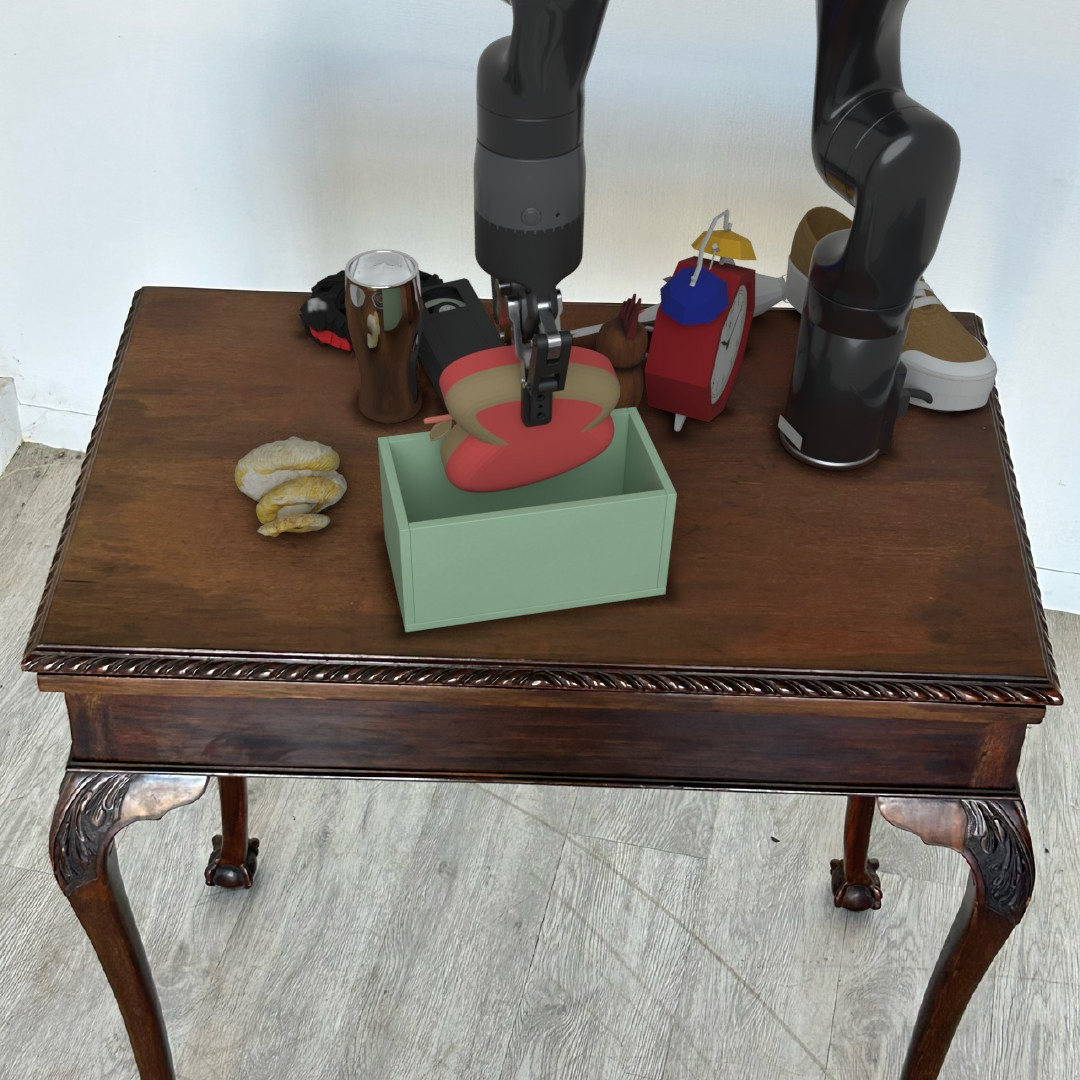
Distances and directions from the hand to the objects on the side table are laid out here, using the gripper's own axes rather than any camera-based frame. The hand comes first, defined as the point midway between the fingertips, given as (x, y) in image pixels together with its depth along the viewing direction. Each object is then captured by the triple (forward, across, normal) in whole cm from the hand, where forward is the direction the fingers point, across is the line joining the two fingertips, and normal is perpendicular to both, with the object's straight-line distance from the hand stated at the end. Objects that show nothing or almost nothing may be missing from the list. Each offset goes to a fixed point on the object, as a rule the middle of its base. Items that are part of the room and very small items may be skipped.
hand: (527, 402), depth 104 cm
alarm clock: (+17, +19, -21) cm, 33 cm away
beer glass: (+17, +25, +6) cm, 31 cm away
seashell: (+17, +13, +18) cm, 28 cm away
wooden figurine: (+17, +16, -12) cm, 26 cm away
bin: (+17, 0, 0) cm, 17 cm away
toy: (+17, +41, +4) cm, 44 cm away
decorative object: (+2, +1, -8) cm, 8 cm away
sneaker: (+17, +22, -44) cm, 52 cm away
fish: (+12, +26, -25) cm, 38 cm away
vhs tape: (+15, +30, -1) cm, 34 cm away
